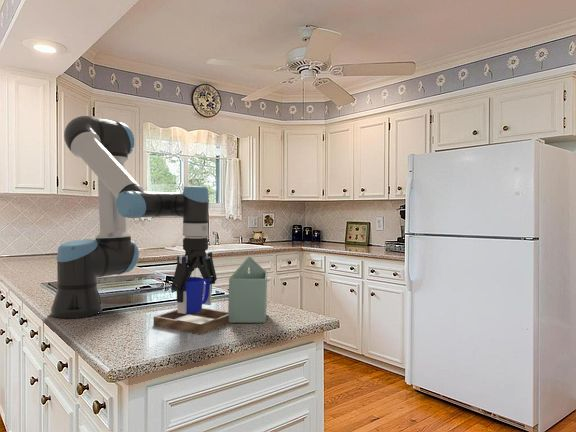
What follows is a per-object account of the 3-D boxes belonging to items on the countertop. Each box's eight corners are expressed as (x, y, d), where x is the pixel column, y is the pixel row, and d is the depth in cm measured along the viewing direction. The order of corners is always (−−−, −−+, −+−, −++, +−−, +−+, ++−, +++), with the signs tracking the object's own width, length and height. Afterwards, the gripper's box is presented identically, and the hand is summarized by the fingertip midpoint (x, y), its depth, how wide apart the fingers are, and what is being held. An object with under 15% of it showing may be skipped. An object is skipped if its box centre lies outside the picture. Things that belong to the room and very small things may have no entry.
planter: (245, 328, 130) (247, 261, 129) (227, 322, 135) (229, 258, 134) (282, 317, 142) (284, 256, 141) (264, 312, 147) (266, 253, 146)
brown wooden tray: (153, 325, 131) (153, 316, 131) (188, 313, 145) (188, 305, 145) (201, 334, 123) (202, 325, 123) (233, 321, 137) (234, 312, 137)
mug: (218, 309, 137) (218, 277, 136) (190, 317, 126) (190, 282, 126) (198, 305, 141) (199, 274, 141) (170, 312, 131) (170, 279, 130)
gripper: (179, 240, 121) (178, 319, 122) (228, 235, 142) (227, 302, 143) (158, 239, 124) (157, 315, 125) (209, 233, 145) (208, 299, 146)
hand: (195, 308), depth 134 cm, fingers closed on mug, 11 cm apart
